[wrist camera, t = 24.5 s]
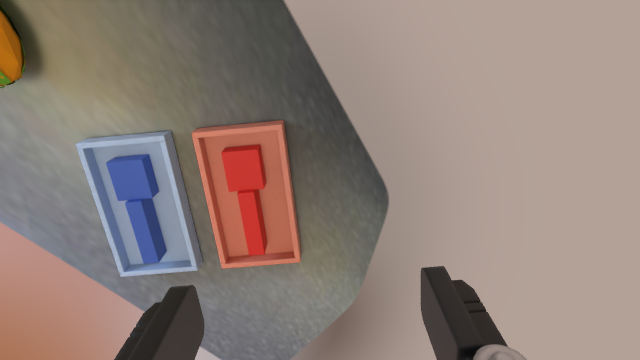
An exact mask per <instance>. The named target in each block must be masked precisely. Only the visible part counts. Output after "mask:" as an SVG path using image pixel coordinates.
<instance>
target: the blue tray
mask: <svg viewBox="0 0 640 360" xmlns="http://www.w3.org/2000/svg"><path fill="white" fill-rule="evenodd" d="M76 147H77V149H78V153H79V156H80V159H81V162H82V165H83V167H84V170H85V173H86V176H87V179H88V182H89V185H90V188H91V191H92V194H93V197H94V200H95V203H96V205H97V208H98V211H99V214H100V217H101V220H102V223H103V226H104V229H105V232H106V235H107V238H108V241H109V243H110V246H111V249H112V252H113V255H114V258H115V261H116V264H117V267H118V270H119V272H120V276H121V277H124V276H136V275H148V274H161V273H173V272H186V271H197V270H198V269H199V267H200V265H201V263H202V262H203V260H202V256H201V252H200V248H199V244H198V240H197V235H196V231H195V227H194V223H193V219H192V215H191V211H190V207H189V203H188V199H187V194H186V190H185V186H184V182H183V178H182V174H181V170H180V166H179V162H178V158H177V153H176V149H175V145H174V141H173V137H172V133H171V131H163V132H153V133H142V134H132V135H121V136H111V137H100V138H90V139H85V140H83V141H81V142H78V143H76ZM144 154H149V156H150V159H151V163H152V167H153V170H154V174H155V178H156V181H157V185H158V189H159V192H158V193H157V194H156V195H155V196H154V197H153V198H152V200H153V204H154V207H155V211H156V214H157V218H158V221H159V225H160V228H161V232H162V235H163V239H164V242H165V246H166V250H167V252H166V253H165V255H164V256H163V258H162V259H161V260H160V262H159V263H148V264H144V263H143V260H142V257H141V253H140V250H139V247H138V244H137V241H136V237H135V234H134V231H133V228H132V225H131V221H130V218H129V215H128V212H127V209H126V205H125V202H127V201H128V200H126V201H118V199H117V196H116V193H115V190H114V187H113V184H112V180H111V177H110V174H109V171H108V168H107V165H106V162H108V161H109V160H111V159H113V158H114V157H123V156H133V155H144Z"/></svg>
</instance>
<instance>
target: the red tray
mask: <svg viewBox="0 0 640 360" xmlns="http://www.w3.org/2000/svg"><path fill="white" fill-rule="evenodd" d="M191 134H192V138H193V142H194V147H195V151H196V155H197V160H198V164H199V169H200V173H201V178H202V182H203V187H204V191H205V196H206V200H207V204H208V209H209V213H210V218H211V222H212V227H213V231H214V236H215V240H216V245H217V249H218V254H219V258H220V262H221V267H222V269H223V268H235V267H247V266H260V265H272V264H285V263H297V262H301V247H300V239H299V232H298V224H297V216H296V209H295V201H294V194H293V186H292V179H291V171H290V163H289V156H288V148H287V141H286V133H285V126H284V120H280V121H269V122H258V123H248V124H237V125H227V126H216V127H206V128H197V129H196V130H195V131H193V132H192V133H191ZM259 144H260V145H261V151H262V158H263V164H264V170H265V177H266V185H265V188H264V189H258V190H259V196H260V202H261V208H262V213H263V219H264V225H265V231H266V237H267V247H266V251H265V254H264V255H252V256H249V253H248V248H247V243H246V238H245V232H244V227H243V222H242V217H241V212H240V206H239V201H238V196H237V193H238V191H234V192H229V190H228V185H227V180H226V175H225V170H224V165H223V160H222V155H221V152H222V151H223V150H224V149H225V148H227V147H238V146H248V145H259Z"/></svg>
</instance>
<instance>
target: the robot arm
mask: <svg viewBox="0 0 640 360" xmlns="http://www.w3.org/2000/svg"><path fill="white" fill-rule="evenodd" d="M421 311H422V317H423V321H424V324H425V327H426V330H427V332H428V335H429V338H430V341H431V344H432V347H433V350H434V353H435V355H436V358H437V360H527V359H526V358H525V357H524V356H523V355H522V354H520V353H519V352H518V351H515V350H514V349H512V348H510V347H508V346H507V344H506V343H505V341H504V339H503V338H502V336H501V334H500V332H499V331H498V330H497V328H496V326H495V324H494V322H493V321H492V319H491V317H490V316H489V314H488V312H486V309H485V307H484V306H483V304H482V303H481V302H480V299H479V297H478V296H477V294H476V292H475V290H474V289H473V288H472V287H470V286H469V285H468V284H466V283H465V282H464V281H463V280H453V281H452V280H451V278H450V276H449V274H448V272H447V271H446V269H445V267H444V266H439V267H427V268H422V269H421ZM203 335H204V318H203V315H202V311H201V307H200V303H199V299H198V295H197V292H196V289H195V287H194V286H193V285H189V286H176V287H171V288H170V289H169V290H168V292H167V294H166V295H165V297H164V299H163V300H162V302H158V303H155V304H154V305H153V306H151V307H150V308H149V309H148V310H147V311H146V312H145V313H143V315H142V317H141V318H140V320H139V321H138V323H137V325H136V327H135V328H134V329H133V331H132V333H131V334H130V337H129V338H128V339H127V340H126V342H125V344H124V345H123V347H122V348H121V350H120V351H119V353H118V354H117V356H116V358H115V359H114V360H194V359H195V357H196V354H197V351H198V349H199V346H200V344H201V341H202V338H203Z"/></svg>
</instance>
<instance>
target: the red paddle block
mask: <svg viewBox="0 0 640 360" xmlns="http://www.w3.org/2000/svg"><path fill="white" fill-rule="evenodd" d="M221 155H222V160H223V165H224V170H225V175H226V180H227V185H228V190H229V192H234V191H238V193H237V196H238V201H239V206H240V212H241V217H242V222H243V227H244V232H245V238H246V243H247V248H248V253H249V256H252V255H264V254H265V251H266V247H267V237H266V231H265V225H264V219H263V213H262V208H261V202H260V196H259V190H258V189H264V188H265V185H266V177H265V170H264V164H263V158H262V151H261V145H260V144H259V145H248V146H238V147H227V148H225V149H224V150H223V151H222V152H221Z"/></svg>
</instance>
